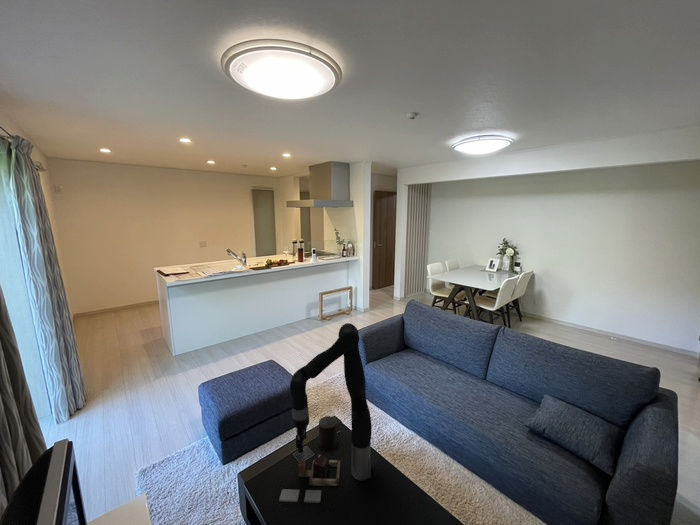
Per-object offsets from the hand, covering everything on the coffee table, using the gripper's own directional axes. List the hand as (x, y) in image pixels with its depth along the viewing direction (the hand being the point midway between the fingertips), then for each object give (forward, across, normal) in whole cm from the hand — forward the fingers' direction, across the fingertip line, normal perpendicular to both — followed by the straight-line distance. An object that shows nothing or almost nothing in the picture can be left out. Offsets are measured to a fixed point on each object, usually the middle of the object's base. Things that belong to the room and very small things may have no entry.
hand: (302, 445), depth 136 cm
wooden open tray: (+16, 0, -7) cm, 18 cm away
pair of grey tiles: (+16, -11, 0) cm, 20 cm away
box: (+17, +1, -8) cm, 19 cm away
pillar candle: (+17, +19, -10) cm, 27 cm away
